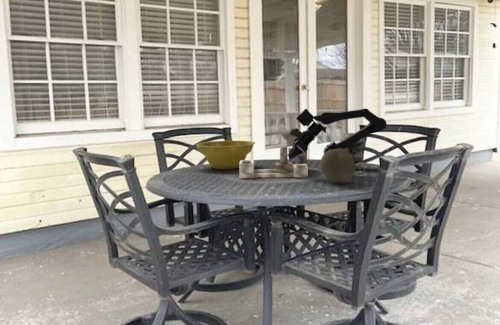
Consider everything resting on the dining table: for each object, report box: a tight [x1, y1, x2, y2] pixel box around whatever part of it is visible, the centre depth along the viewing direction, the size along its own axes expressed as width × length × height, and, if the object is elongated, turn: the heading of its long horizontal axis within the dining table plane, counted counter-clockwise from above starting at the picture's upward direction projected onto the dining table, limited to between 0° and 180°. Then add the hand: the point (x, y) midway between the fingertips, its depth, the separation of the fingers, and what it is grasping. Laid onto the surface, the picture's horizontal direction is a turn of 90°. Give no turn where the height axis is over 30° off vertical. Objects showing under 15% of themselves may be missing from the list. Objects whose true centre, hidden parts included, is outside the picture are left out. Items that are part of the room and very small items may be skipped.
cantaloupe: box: [320, 149, 356, 185], centre depth 217 cm, size 14×14×15 cm
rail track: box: [238, 159, 309, 179], centre depth 245 cm, size 32×12×8 cm, turn 88°
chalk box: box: [287, 147, 309, 168], centre depth 260 cm, size 9×9×15 cm
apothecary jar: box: [339, 132, 365, 171], centre depth 260 cm, size 12×12×18 cm
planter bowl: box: [195, 140, 256, 170], centre depth 278 cm, size 32×32×13 cm
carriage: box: [275, 146, 293, 170], centre depth 244 cm, size 8×8×10 cm
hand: (288, 157), depth 244 cm, fingers open, 9 cm apart
